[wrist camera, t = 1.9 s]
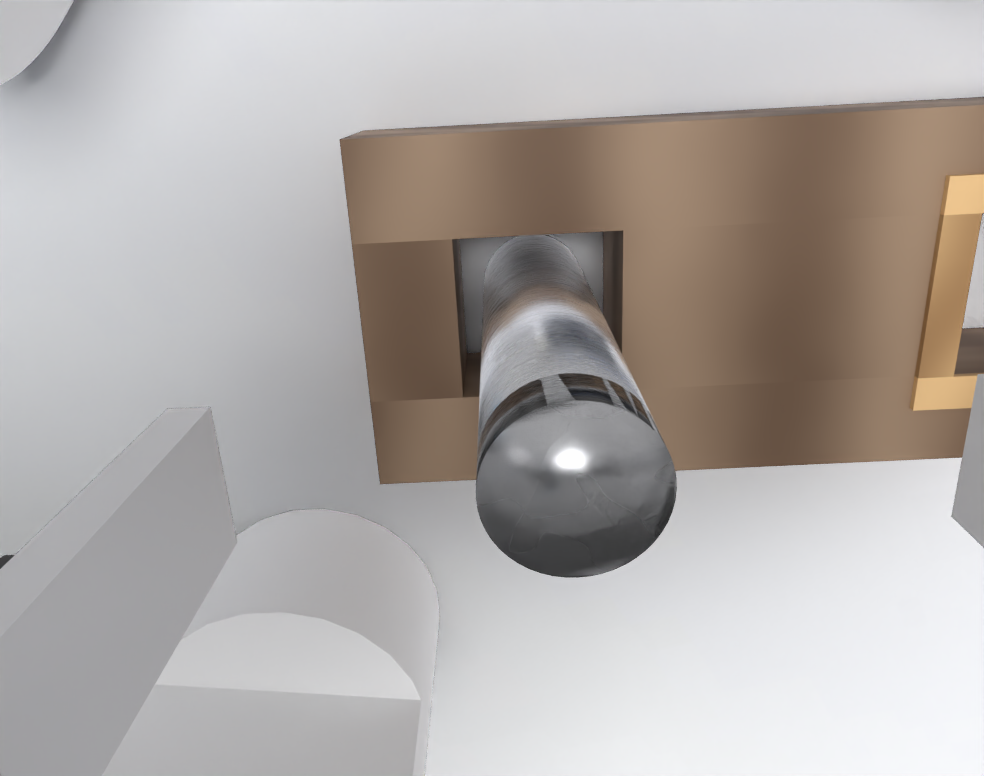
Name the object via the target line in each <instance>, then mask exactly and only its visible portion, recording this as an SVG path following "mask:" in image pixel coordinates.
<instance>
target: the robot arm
mask: <svg viewBox="0 0 984 776" xmlns="http://www.w3.org/2000/svg"><path fill="white" fill-rule="evenodd" d="M951 517H952V518H953V519H954V520H956V521H957V522H958V523H959V524H960V525H961V526H962V527H963V528H964V529H965V530H966V531H967V532H968V533H969V534H970V535H971V536H972V537H973V538H974V539H975V540H976V541H977V542H978V543H979V544H980V545H981V546H983V547H984V374H978V376H977V381H976V386H975V392H974V397H973V402H972V408H971V413H970V419H969V424H968V429H967V435H966V440H965V446H964V451H963V456H962V462H961V467H960V472H959V478H958V483H957V489H956V494H955V499H954V505H953V510H952V516H951ZM236 544H237V539H236V534H235V529H234V524H233V519H232V513H231V508H230V503H229V498H228V493H227V488H226V483H225V478H224V473H223V468H222V463H221V458H220V453H219V447H218V442H217V437H216V432H215V427H214V422H213V417H212V412H211V407H195V408H171V409H166V410H165V411H164V412H163V413H162V414H161V415H160V416H159V417H158V418H157V419H156V420H155V421H154V422H153V423H152V424H151V425H150V426H149V427H148V428H147V429H145V430H144V431H143V432H142V433H141V434H140V435H139V436H138V437H137V438H136V439H135V440H134V441H133V442H132V443H131V444H130V445H129V446H128V447H127V448H126V449H125V450H124V451H123V452H122V453H121V454H119V455H118V456H117V457H116V458H115V459H114V460H113V461H112V462H111V463H110V464H109V465H108V466H107V467H106V468H105V469H104V470H103V471H102V472H101V473H100V474H99V475H98V476H97V477H96V478H95V479H93V480H92V481H91V482H90V483H89V484H88V485H87V486H86V487H85V488H84V489H83V490H82V491H81V492H80V493H79V494H78V495H77V496H76V497H75V498H74V499H73V500H72V501H71V502H70V503H68V504H67V505H66V506H65V507H64V508H63V509H62V510H61V511H60V512H59V513H58V514H57V515H56V516H55V517H54V518H53V519H52V520H51V521H50V522H49V523H48V524H47V525H46V526H45V527H44V528H42V529H41V530H40V531H39V532H38V533H37V534H36V535H35V536H34V537H33V538H32V539H31V540H30V541H29V542H28V543H27V544H26V545H25V546H24V547H23V548H22V549H21V550H20V551H19V552H18V553H16V554H15V555H5V556H3V557H2V558H0V776H102V774H103V773H104V771H105V769H106V768H107V766H108V764H109V762H110V761H111V759H112V757H113V756H114V754H115V752H116V750H117V749H118V747H119V745H120V744H121V742H122V740H123V738H124V737H125V735H126V733H127V732H128V730H129V728H130V726H131V725H132V723H133V721H134V719H135V718H136V716H137V714H138V713H139V711H140V709H141V707H142V706H143V704H144V702H145V701H146V699H147V697H148V695H149V694H150V692H151V690H152V689H153V687H154V685H155V683H156V682H157V680H158V678H159V677H160V675H161V673H162V671H163V670H164V668H165V666H166V664H167V663H168V661H169V659H170V658H171V656H172V654H173V652H174V651H175V649H176V647H177V646H178V644H179V642H180V640H181V639H182V637H183V635H184V634H185V632H186V630H187V628H188V627H189V625H190V623H191V622H192V620H193V618H194V616H195V615H196V613H197V611H198V610H199V608H200V606H201V604H202V603H203V601H204V599H205V597H206V596H207V594H208V592H209V591H210V589H211V587H212V585H213V584H214V582H215V580H216V579H217V577H218V575H219V573H220V572H221V570H222V568H223V567H224V565H225V563H226V561H227V560H228V558H229V556H230V555H231V553H232V551H233V549H234V548H235V546H236Z"/></svg>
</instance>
